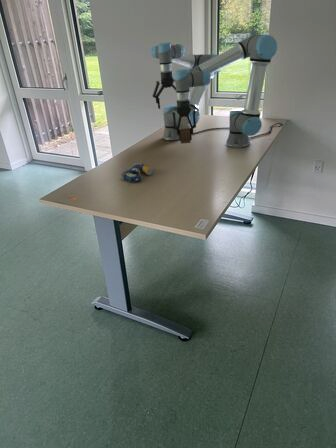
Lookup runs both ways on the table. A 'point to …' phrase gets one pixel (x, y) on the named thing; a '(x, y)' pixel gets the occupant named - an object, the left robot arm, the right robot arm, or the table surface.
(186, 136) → the bar
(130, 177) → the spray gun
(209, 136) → the table surface
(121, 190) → the table surface
